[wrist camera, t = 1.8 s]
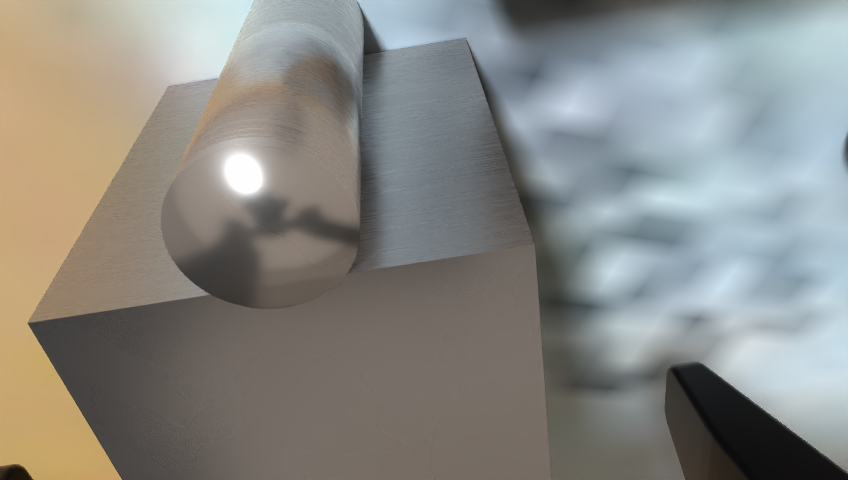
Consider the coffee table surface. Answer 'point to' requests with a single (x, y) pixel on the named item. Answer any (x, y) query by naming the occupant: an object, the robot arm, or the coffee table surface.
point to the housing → (309, 273)
